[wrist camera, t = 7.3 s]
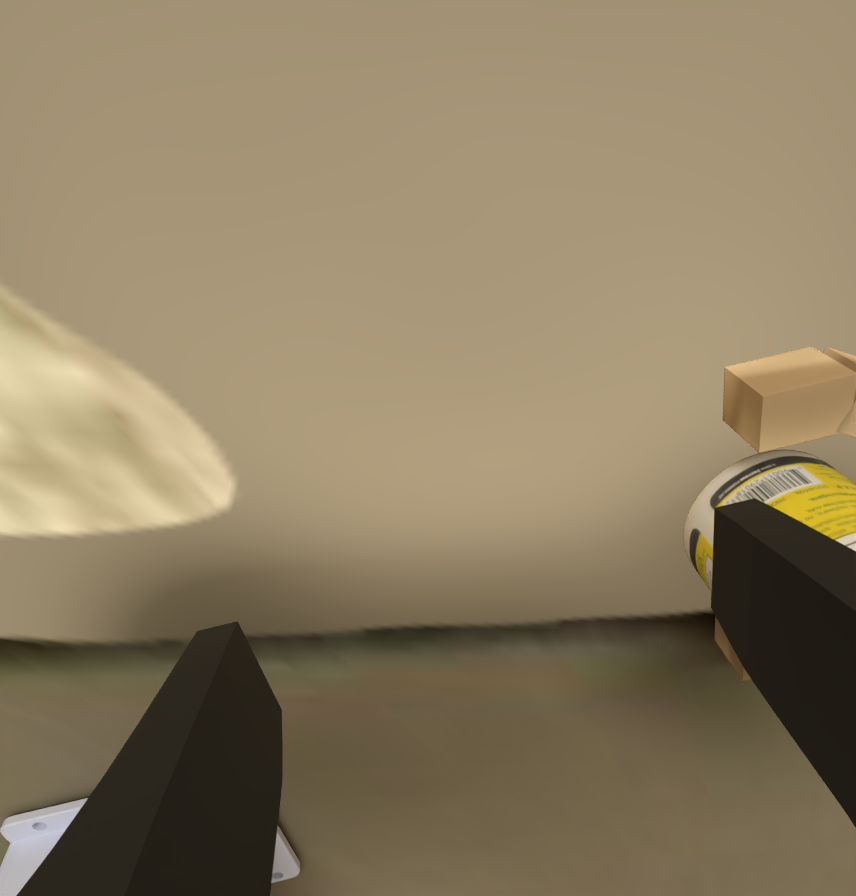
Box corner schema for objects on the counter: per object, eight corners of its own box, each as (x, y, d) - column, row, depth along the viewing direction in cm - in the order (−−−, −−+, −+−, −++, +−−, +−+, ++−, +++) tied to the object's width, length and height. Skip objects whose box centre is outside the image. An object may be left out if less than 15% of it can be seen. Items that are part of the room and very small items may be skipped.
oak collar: (714, 639, 25) (742, 681, 23) (724, 367, 19) (762, 396, 17) (894, 596, 25) (935, 635, 23) (961, 310, 19) (1022, 334, 17)
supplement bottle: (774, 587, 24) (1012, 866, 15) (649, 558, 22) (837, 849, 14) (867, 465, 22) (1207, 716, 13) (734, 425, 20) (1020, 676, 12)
